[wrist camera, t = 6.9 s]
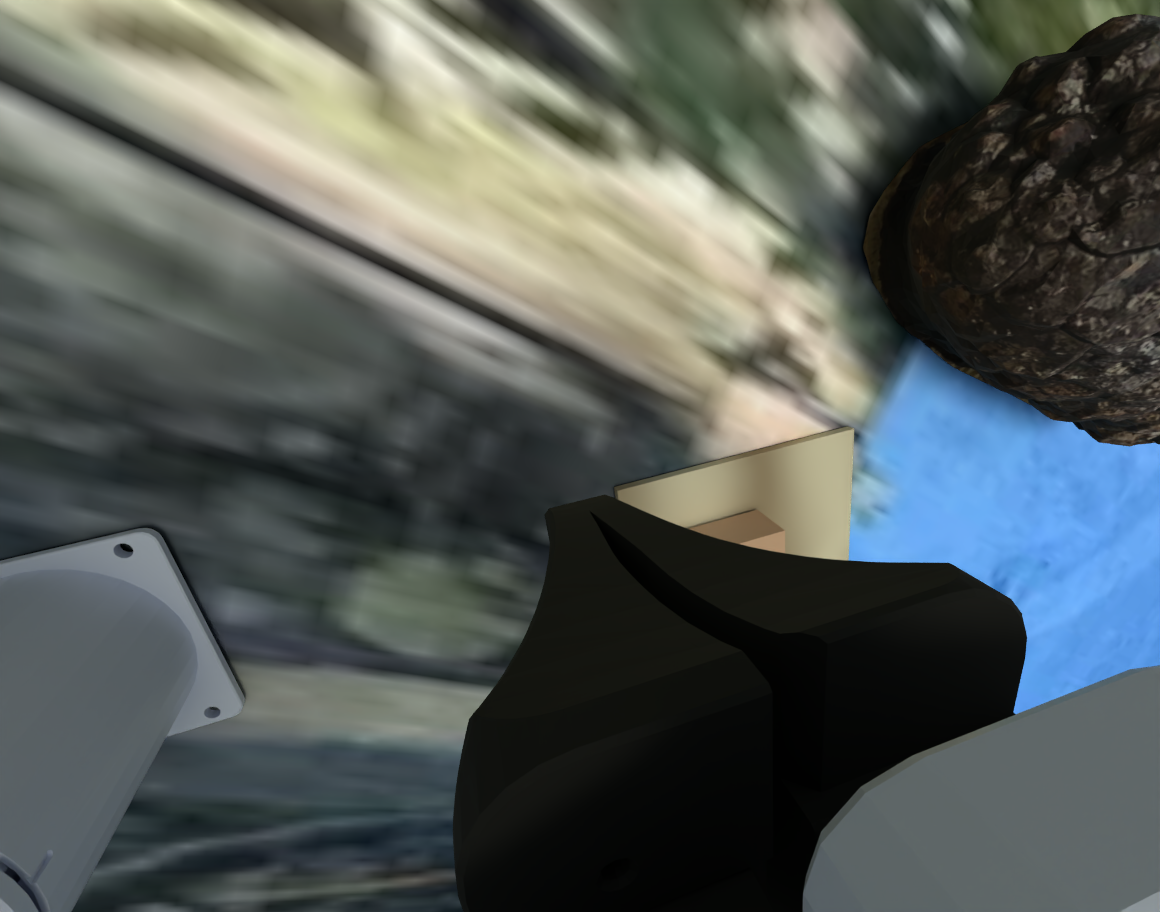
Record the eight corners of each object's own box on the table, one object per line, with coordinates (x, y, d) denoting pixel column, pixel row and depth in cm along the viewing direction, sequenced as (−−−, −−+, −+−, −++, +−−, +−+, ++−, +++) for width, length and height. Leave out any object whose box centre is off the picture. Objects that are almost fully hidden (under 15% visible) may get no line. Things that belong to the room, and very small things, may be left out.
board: (649, 736, 27) (652, 742, 27) (614, 486, 22) (617, 490, 21) (838, 668, 29) (843, 673, 29) (847, 426, 24) (854, 428, 24)
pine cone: (1042, 448, 28) (1341, 538, 19) (794, 294, 21) (1071, 319, 12) (1171, 255, 26) (1577, 252, 17) (941, 18, 19) (1407, -199, 10)
